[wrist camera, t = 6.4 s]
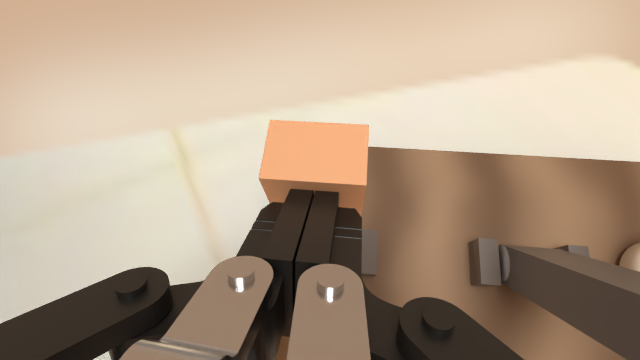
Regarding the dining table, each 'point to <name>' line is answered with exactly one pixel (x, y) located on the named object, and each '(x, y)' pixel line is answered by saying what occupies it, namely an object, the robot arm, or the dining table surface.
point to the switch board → (491, 234)
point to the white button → (631, 258)
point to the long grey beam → (579, 293)
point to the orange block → (316, 160)
